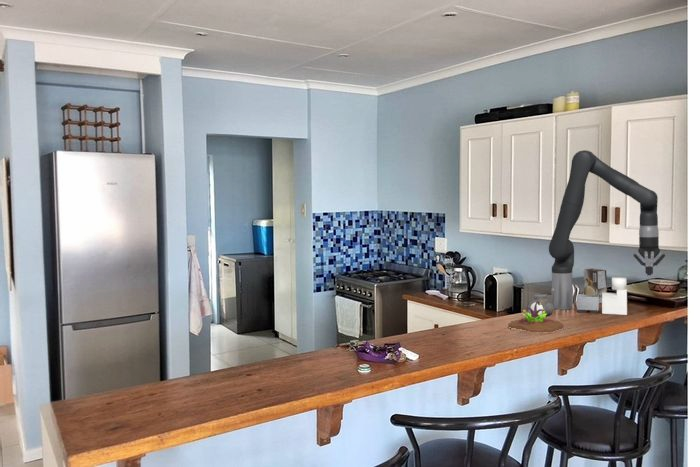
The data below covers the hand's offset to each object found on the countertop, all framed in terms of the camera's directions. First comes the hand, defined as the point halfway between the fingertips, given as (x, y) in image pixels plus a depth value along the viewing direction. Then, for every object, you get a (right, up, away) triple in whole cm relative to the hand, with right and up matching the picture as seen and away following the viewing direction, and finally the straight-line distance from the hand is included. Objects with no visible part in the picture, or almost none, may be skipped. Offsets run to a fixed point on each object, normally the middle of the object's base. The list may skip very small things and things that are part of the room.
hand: (649, 275), depth 251 cm
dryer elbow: (-12, -17, +7) cm, 22 cm away
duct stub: (-22, -18, +12) cm, 31 cm away
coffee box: (-9, -16, +34) cm, 39 cm away
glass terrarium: (-45, -19, +7) cm, 49 cm away
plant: (-54, -21, -14) cm, 60 cm away
